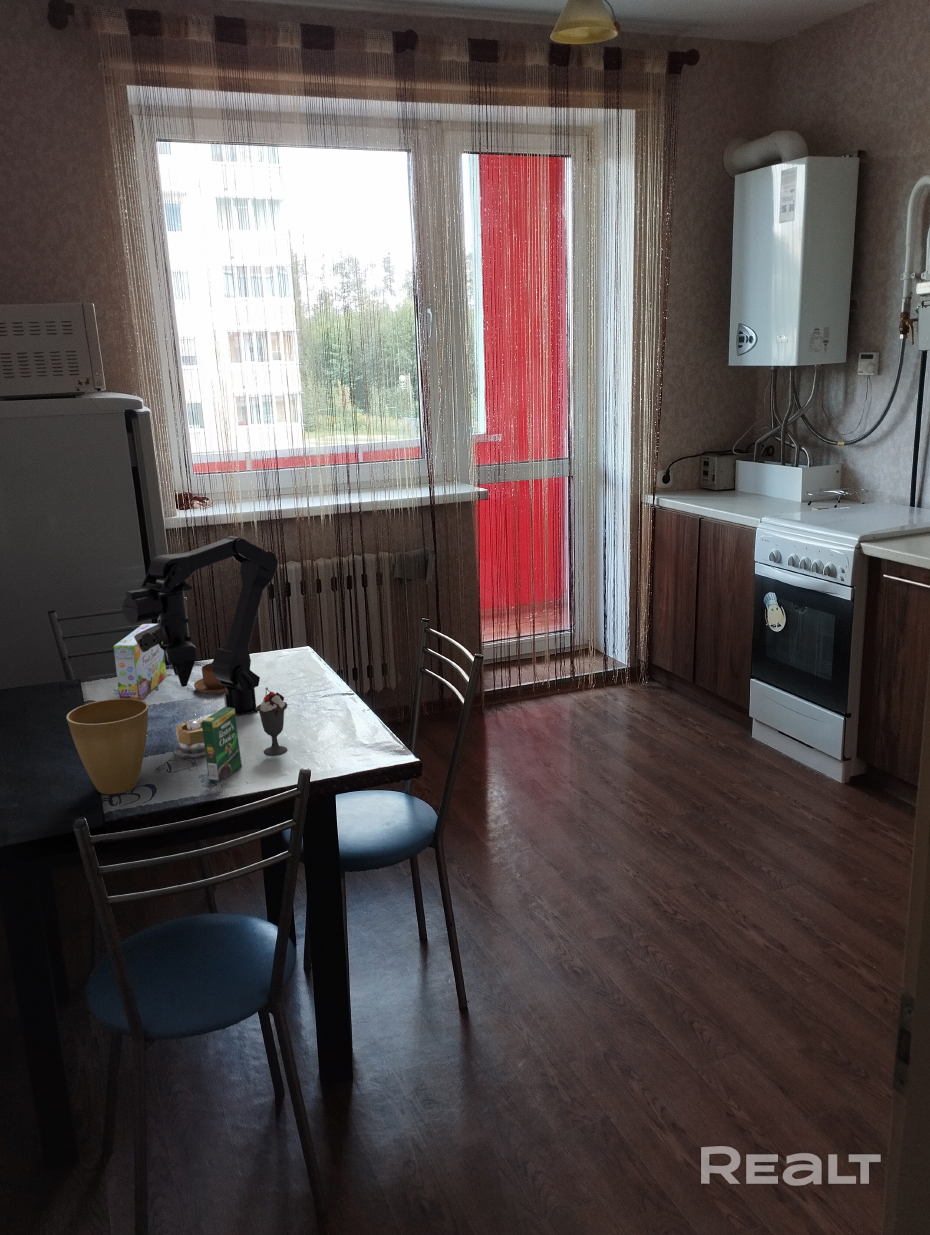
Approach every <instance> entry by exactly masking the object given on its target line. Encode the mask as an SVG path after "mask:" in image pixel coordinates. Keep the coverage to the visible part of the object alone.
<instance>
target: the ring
mask: <svg viewBox="0 0 930 1235" xmlns="http://www.w3.org/2000/svg"><path fill="white" fill-rule="evenodd" d="M199 720H200V724H201V729H198V730H193V731H187V722H188V721H186V722H182V723H181V724H179V725H177V726H176V727H175V732H176V739H177V742H178V743H179V744H180V743H185V744H194V743H199V742H204V738H203V730H202V721H203V720H202V719H199Z"/></svg>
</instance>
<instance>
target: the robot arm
mask: <svg viewBox="0 0 930 1235" xmlns="http://www.w3.org/2000/svg"><path fill="white" fill-rule="evenodd" d="M230 558H233V560H234V561H236V562H237V563H238V564H240V568H239V569H240V571H239V574H240V578H241V581H242V582H241V583H242V584H241V590H240V594H239V597H238V602H237V605H236V610H235V613H234V617H233V621H232V624H231V627H230V631H229V636H228V639H227V641H226V642H227V643H226V644H225V645H224V646H223V647H222V648H219V647H216V649H215V651H214V655H213V656H214V658H213V660H212V661H211V665H213V673H214V675H215V677H216V678H217V679H218V680H219V682H220V684H221V685H224V686H225V688H226V692H223V698H224V707H229V708H235V715H236V716H239V715H246V714H251V713H257V712H258V711H257V710H256V709H255V708H256V707H257V701H256V692H255V691H256V689H255V688H257V687H259V685H260V680H261V678H260V676H258V675H257V674H256V673H255V672H253V671H252V670H251V666H252V663H251V662H252V659H251V656H250V651H249V646H250V641H251V639H252V635H253V631H254V627H255V622H256V618H257V616H258V612H259V607H260V604H261V600H262V597H263V593H264V590H265V589H266V587H267V586H268V585H269V584H270V583H271V582H272V581H273V579H274V576H275V574H276V572H277V569H278V566H279V565H278V564H279V560H278V558H277V557H276V555H275V553H274V552H272V551H267V550H264V549H262V548H261V547H259V546H257V545H255V544H253V543H250V542H249V541H248V540H246V539H245V538H244V537H240V536H233V535H228V536H226V537H225V538H222V539H219V540H218V541H214V542H212V543H209V544H207V545H204V546H201V547H199V548H198V547H197V548H195V549H192V550H190V551H187V552H180V553H169V554H161V555H157V556H155V557H153V558H152V559H151V562H150V563H149V568H148V570H147V573H146V575H145V577H144V579H143V581H142V583H141V585H140V589H137V590H129V591H126V593H125V594H126V597H125V598H124V599H123V603H122V606H121V607H122V608H121V609H122V614H123V616H124V618H125V619H126V620H127V622H128V623H130V624H138V623H142V622H145V621H149V620H153V619H157V623H156V624H157V625H155V626H153V627H150V628H148V629H146V630H144V631H142V632H140V633H138V634H136V635H135V636H134V638H135V640H136V642H137V644H138V645H139V647H140V649H141V651H142V652H146V651H148V650H149V649H150V648H152V647H154V646H156V645H158V644H159V646H160V648H161V649H163V650H164V653H165V659H166V661H167V663H168V664H169V665H171V666H172V670H173V672H174V676H177V677H178V680H179V683H180V685H181V688H184V687H187V686H188V683H189V680H190V677H191V674H192V671H193V668H194V666H195V664H196V661H197V658H198V657H199V655H198V648H197V647H196V645H195V644H193V643H192V642H190V641H192V639H191V635H190V632H189V625H188V623H190V620H189V617H188V614H187V606H186V599H185V592H188V591H191V590H193V586H192V585H191V584H188V582H186V581H185V580H187V579H189V578H190V577H192V575H193V574H194V573H195V572H196V571H198V570H200V569H203V568H206V567H208V566H211V565H214V564H216V563H219V562H221V561H225V560H227V559H230Z"/></svg>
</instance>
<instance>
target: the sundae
mask: <svg viewBox="0 0 930 1235" xmlns="http://www.w3.org/2000/svg"><path fill="white" fill-rule="evenodd" d="M267 691H268V692H267ZM287 708H288V703H287V702H286V701H285V697H284V696H283V694H281V693H279V692H278V691H277V692H274V691H270V690H269V687H265V696H264V697H263V700H262V701H261V703H260V704H258V705H256V708H255V709H256V710H257V712H259V717H260V722H261V725H262V728H263V731H264V732H265V734H266V735H267V736H270V737H271V745H270V746H268V747H266V748H265V749H264V750H263V753H264V754H265V755H267V756H279V755H282V754H283V755H284V754H285V753H286V752H287V751H288V748H287V747H286V746H284V745H279V742H278V736H279V735H280V734H281V733H282V732H283V730H284V721H285V710H287Z"/></svg>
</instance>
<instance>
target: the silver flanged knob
mask: <svg viewBox="0 0 930 1235" xmlns="http://www.w3.org/2000/svg"><path fill="white" fill-rule="evenodd" d="M200 720H201V719H191V720H188V721H186V722H187V731H193V730H198V729H201V724H200ZM174 755H175V756H176V757H177V758H180V759H187V760H191V759H200V758H206V753H205V746H204V742H199V743H194V744H185V743H179V745H178V746H177V747H175V749H174Z"/></svg>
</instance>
